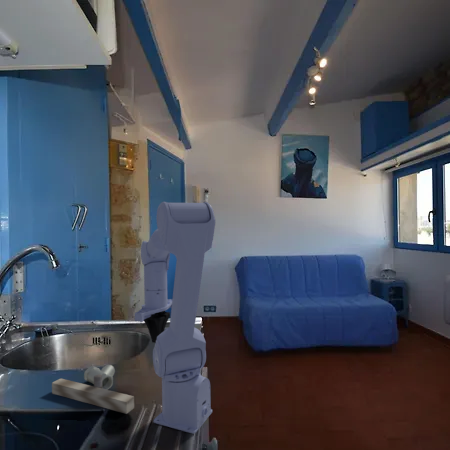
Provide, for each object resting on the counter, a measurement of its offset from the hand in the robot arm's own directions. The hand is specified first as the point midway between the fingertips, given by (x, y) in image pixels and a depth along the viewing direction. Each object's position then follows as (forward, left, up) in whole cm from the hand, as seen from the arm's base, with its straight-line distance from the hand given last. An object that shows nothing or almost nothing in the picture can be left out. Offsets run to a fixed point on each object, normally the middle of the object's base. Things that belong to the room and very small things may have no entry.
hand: (156, 341), depth 84 cm
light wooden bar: (+8, +13, -9) cm, 18 cm away
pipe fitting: (+11, +7, -10) cm, 16 cm away
